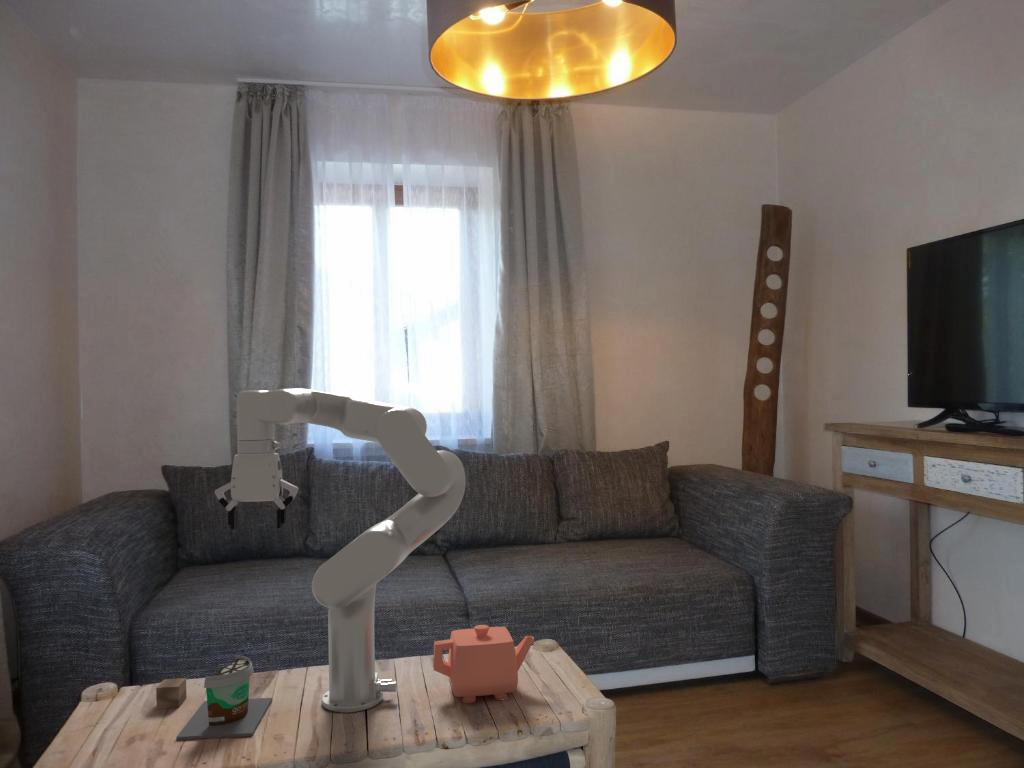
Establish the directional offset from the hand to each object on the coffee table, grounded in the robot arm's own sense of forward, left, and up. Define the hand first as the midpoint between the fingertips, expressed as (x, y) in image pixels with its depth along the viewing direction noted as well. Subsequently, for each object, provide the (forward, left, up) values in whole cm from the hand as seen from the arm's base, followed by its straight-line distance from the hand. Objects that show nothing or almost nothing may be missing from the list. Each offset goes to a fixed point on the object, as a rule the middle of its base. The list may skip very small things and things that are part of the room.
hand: (257, 527), depth 160 cm
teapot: (-48, +3, -37) cm, 60 cm away
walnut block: (+18, +1, -36) cm, 41 cm away
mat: (+4, +10, -36) cm, 38 cm away
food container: (+2, +10, -36) cm, 37 cm away
